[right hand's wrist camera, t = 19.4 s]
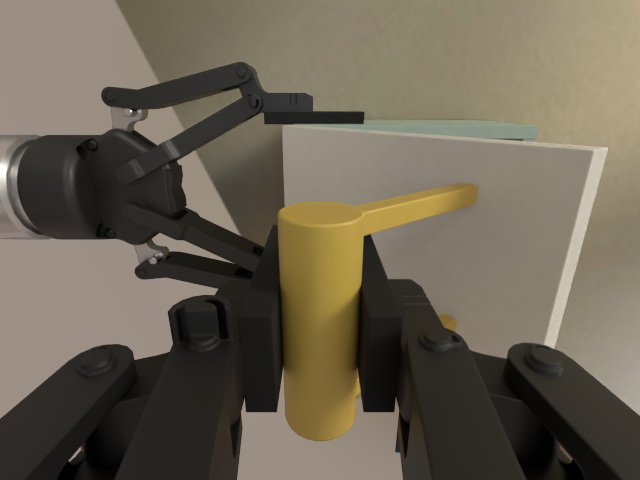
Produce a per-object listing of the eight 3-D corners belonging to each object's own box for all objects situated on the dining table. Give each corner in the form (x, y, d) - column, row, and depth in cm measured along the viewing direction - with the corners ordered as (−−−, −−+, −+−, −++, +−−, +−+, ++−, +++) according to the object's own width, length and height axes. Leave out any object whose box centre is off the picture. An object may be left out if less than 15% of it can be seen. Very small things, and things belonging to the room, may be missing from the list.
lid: (609, 147, 11) (407, 186, 5) (542, 395, 14) (374, 570, 9) (298, 124, 22) (140, 130, 17) (300, 261, 26) (168, 301, 20)
